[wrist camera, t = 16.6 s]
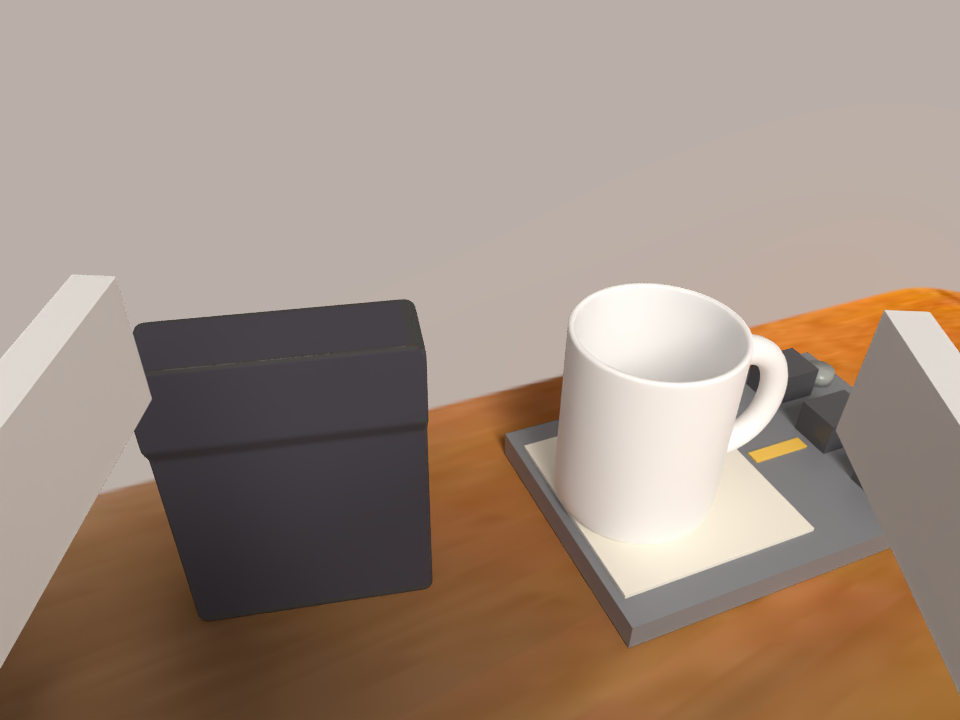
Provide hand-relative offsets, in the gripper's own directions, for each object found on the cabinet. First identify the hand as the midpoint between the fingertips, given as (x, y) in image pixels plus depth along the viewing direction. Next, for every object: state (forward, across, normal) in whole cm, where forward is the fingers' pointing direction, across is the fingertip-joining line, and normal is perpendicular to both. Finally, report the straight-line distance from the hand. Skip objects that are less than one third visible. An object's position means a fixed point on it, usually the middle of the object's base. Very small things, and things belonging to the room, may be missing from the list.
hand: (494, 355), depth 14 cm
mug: (+19, +10, -22) cm, 31 cm away
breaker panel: (+21, +14, -24) cm, 35 cm away
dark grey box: (+13, -8, -24) cm, 29 cm away
